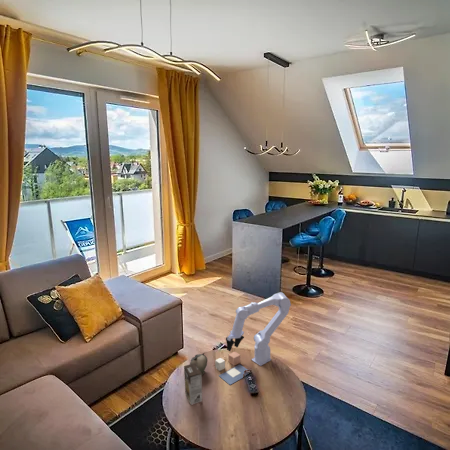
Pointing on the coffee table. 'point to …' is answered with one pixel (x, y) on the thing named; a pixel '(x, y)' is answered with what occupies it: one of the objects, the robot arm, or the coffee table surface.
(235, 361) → the terracotta block
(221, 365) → the cream block
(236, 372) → the blueprint board
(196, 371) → the coffee box
